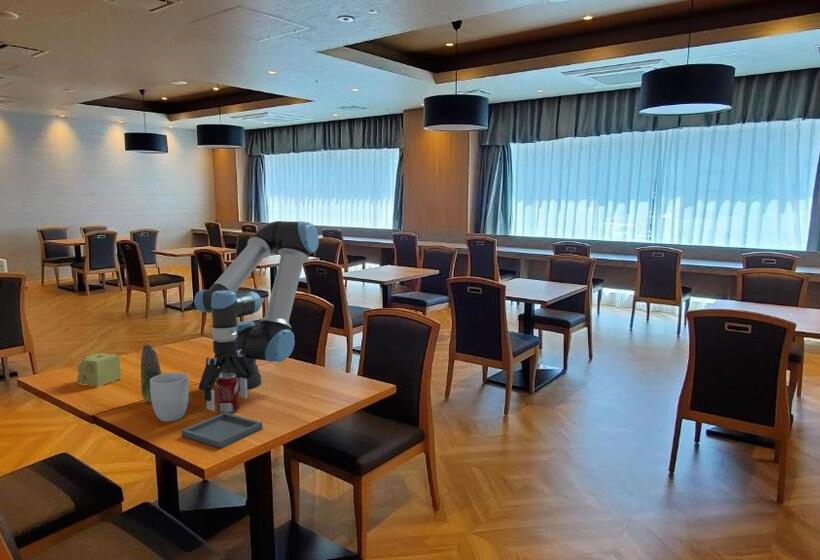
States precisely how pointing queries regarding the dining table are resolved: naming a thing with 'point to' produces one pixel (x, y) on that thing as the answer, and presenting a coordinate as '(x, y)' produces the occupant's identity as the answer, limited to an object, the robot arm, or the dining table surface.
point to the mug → (169, 395)
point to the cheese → (99, 369)
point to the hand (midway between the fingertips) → (227, 403)
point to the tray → (222, 430)
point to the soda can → (227, 393)
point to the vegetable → (148, 370)
